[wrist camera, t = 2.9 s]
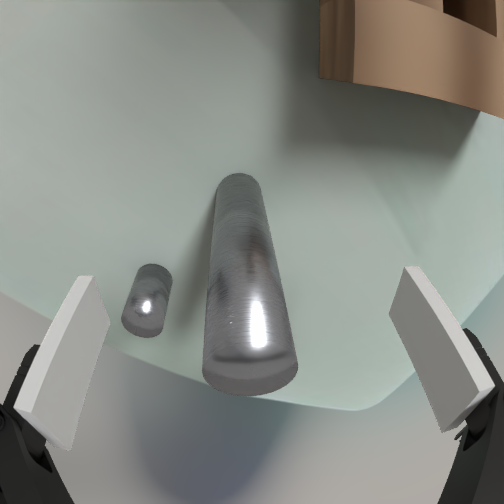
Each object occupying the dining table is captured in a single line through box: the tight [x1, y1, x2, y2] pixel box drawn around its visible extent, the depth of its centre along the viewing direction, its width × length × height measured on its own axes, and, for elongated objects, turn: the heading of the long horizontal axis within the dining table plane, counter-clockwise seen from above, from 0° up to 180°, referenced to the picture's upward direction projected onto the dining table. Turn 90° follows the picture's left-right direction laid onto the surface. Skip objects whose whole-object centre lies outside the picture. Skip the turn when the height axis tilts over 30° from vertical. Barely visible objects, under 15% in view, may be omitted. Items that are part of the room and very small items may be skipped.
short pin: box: [121, 264, 172, 338], centre depth 22 cm, size 3×3×5 cm
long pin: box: [202, 173, 298, 396], centre depth 15 cm, size 3×3×14 cm
